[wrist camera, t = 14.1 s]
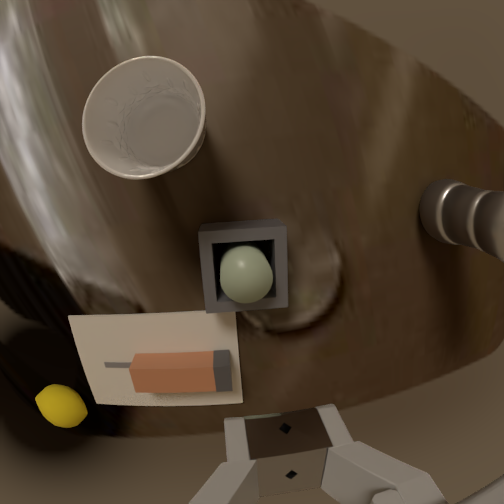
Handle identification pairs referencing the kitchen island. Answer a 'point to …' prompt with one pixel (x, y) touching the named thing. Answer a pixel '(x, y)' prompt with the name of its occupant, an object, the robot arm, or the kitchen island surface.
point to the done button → (245, 272)
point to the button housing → (235, 233)
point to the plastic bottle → (464, 216)
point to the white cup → (144, 118)
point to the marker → (181, 372)
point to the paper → (152, 341)
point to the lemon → (61, 405)
